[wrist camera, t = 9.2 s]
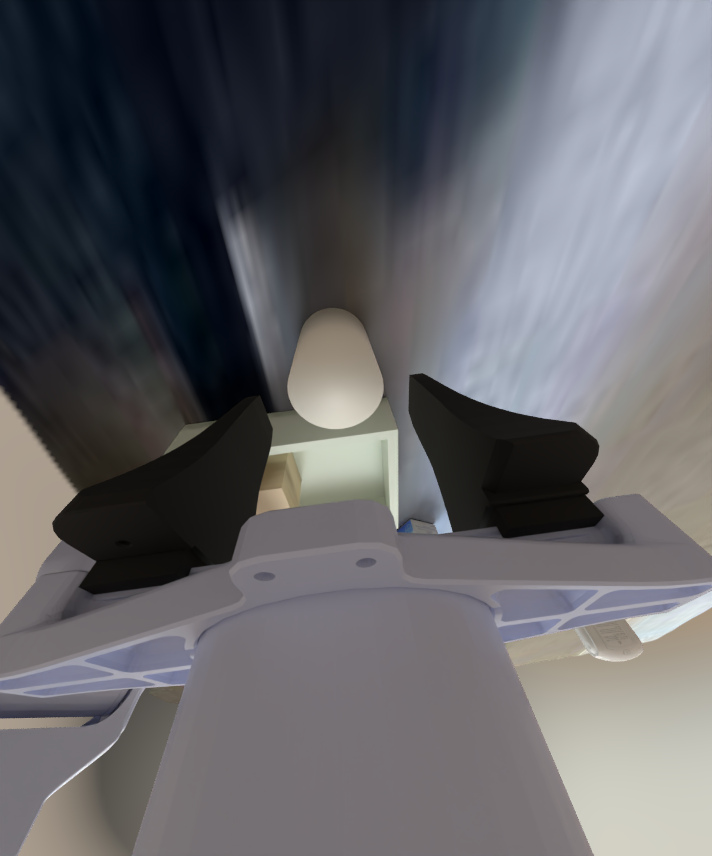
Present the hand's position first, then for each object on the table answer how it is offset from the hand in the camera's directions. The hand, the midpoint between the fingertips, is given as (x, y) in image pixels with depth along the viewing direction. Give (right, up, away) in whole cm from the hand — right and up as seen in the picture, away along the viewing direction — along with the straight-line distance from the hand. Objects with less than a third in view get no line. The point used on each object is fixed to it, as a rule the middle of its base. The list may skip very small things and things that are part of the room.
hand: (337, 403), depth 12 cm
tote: (-4, -5, +14) cm, 15 cm away
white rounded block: (+51, -38, +47) cm, 79 cm away
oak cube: (-7, -5, +12) cm, 15 cm away
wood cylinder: (-1, +5, +6) cm, 8 cm away
